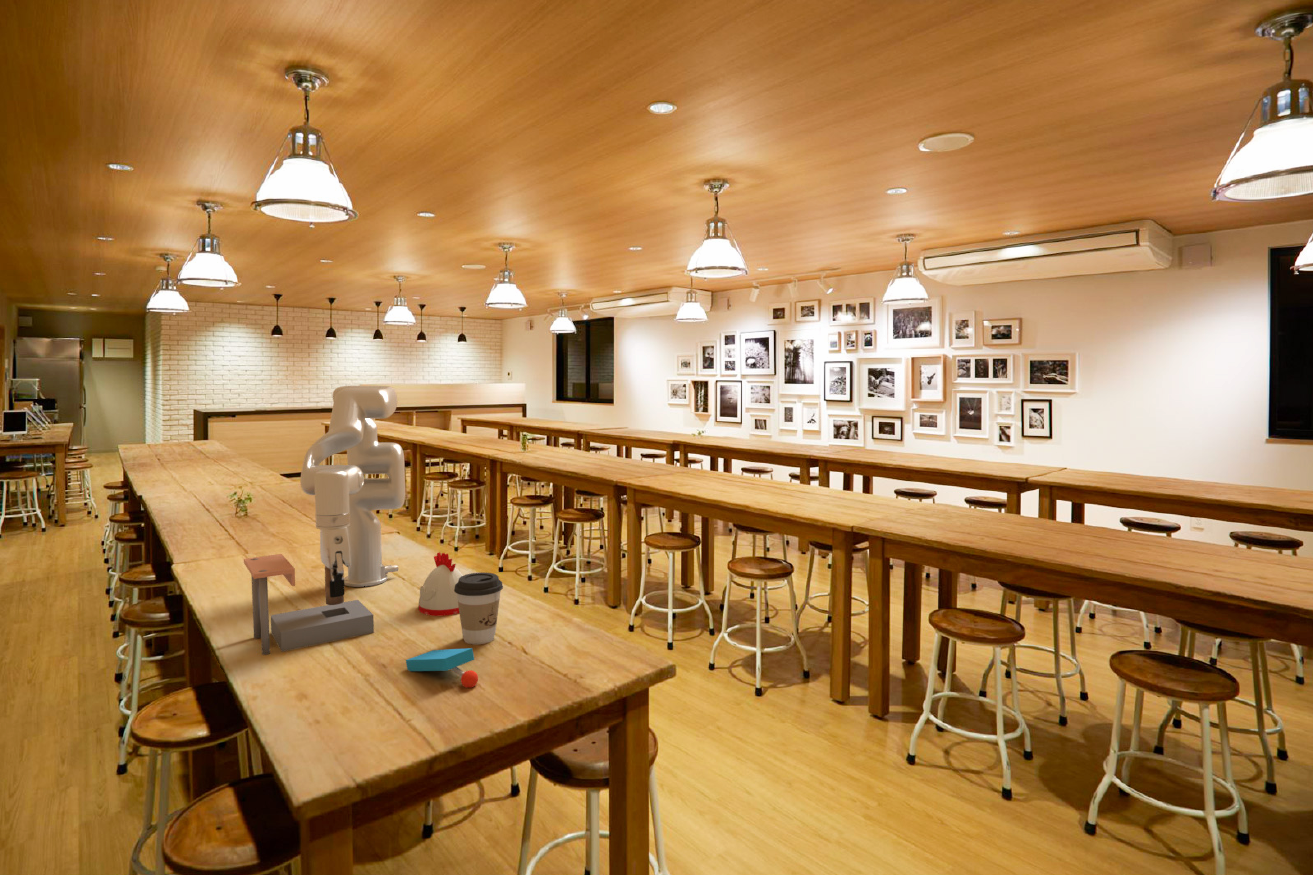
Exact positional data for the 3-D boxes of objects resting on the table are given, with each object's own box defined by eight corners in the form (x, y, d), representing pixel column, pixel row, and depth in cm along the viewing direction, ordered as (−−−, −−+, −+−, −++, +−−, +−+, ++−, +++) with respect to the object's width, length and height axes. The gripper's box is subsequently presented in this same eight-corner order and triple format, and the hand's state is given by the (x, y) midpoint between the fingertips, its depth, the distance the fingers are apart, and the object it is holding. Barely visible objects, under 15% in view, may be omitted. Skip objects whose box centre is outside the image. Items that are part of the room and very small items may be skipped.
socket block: (358, 616, 177) (357, 599, 177) (373, 632, 166) (373, 614, 166) (271, 633, 165) (270, 615, 165) (281, 651, 154) (281, 632, 154)
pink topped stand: (284, 629, 168) (281, 553, 166) (297, 650, 155) (294, 568, 154) (246, 636, 163) (243, 558, 161) (257, 658, 150) (253, 574, 149)
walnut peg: (341, 598, 170) (340, 563, 169) (345, 602, 167) (344, 566, 166) (324, 601, 167) (323, 565, 167) (327, 606, 164) (326, 569, 163)
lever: (411, 693, 145) (462, 693, 134) (405, 660, 146) (455, 658, 135) (438, 681, 151) (489, 681, 140) (433, 650, 151) (483, 647, 140)
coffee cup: (478, 652, 155) (477, 587, 154) (444, 641, 161) (443, 579, 160) (513, 636, 165) (513, 576, 164) (480, 627, 171) (479, 568, 170)
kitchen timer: (450, 596, 195) (449, 544, 194) (482, 605, 187) (481, 552, 186) (408, 609, 184) (406, 554, 183) (440, 619, 176) (439, 563, 175)
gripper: (358, 524, 161) (360, 599, 163) (340, 513, 174) (342, 583, 176) (324, 528, 156) (326, 606, 158) (308, 516, 170) (310, 588, 171)
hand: (334, 593), depth 167 cm, fingers closed on walnut peg, 4 cm apart
